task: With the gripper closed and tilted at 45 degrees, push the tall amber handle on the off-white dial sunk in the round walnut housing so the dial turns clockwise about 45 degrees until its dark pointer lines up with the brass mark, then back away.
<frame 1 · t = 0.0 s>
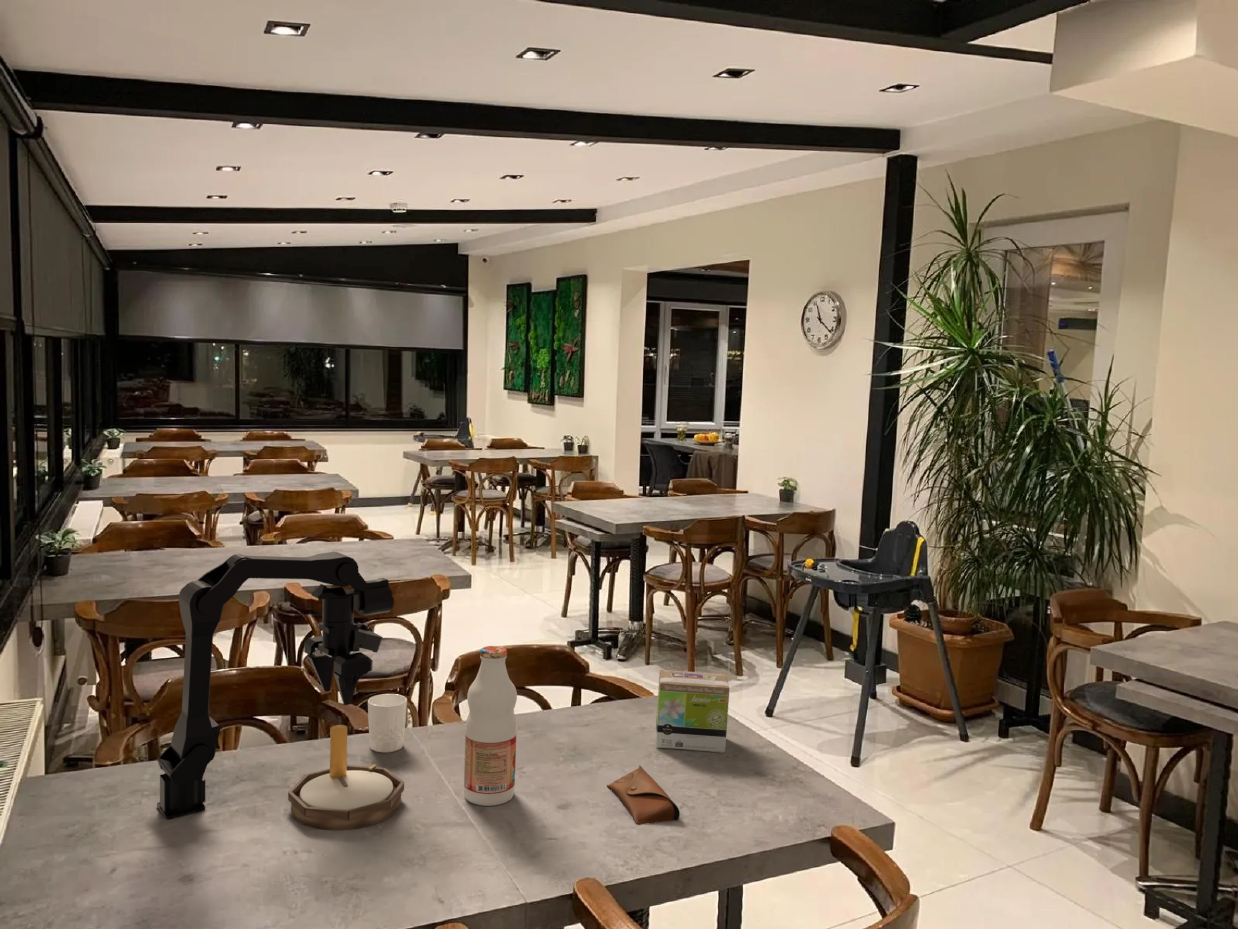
hand: (336, 697, 185), 15 cm above the table, tool pointing down, fingers open, 9 cm apart
fruit juice: (489, 797, 178), on the table
sunglasses case: (640, 805, 178), on the table
dial housing: (346, 805, 172), on the table
white cup: (386, 747, 199), on the table
dial: (347, 766, 171), point 7 cm above the table, hinge at 0.0°
tea box: (689, 744, 209), on the table
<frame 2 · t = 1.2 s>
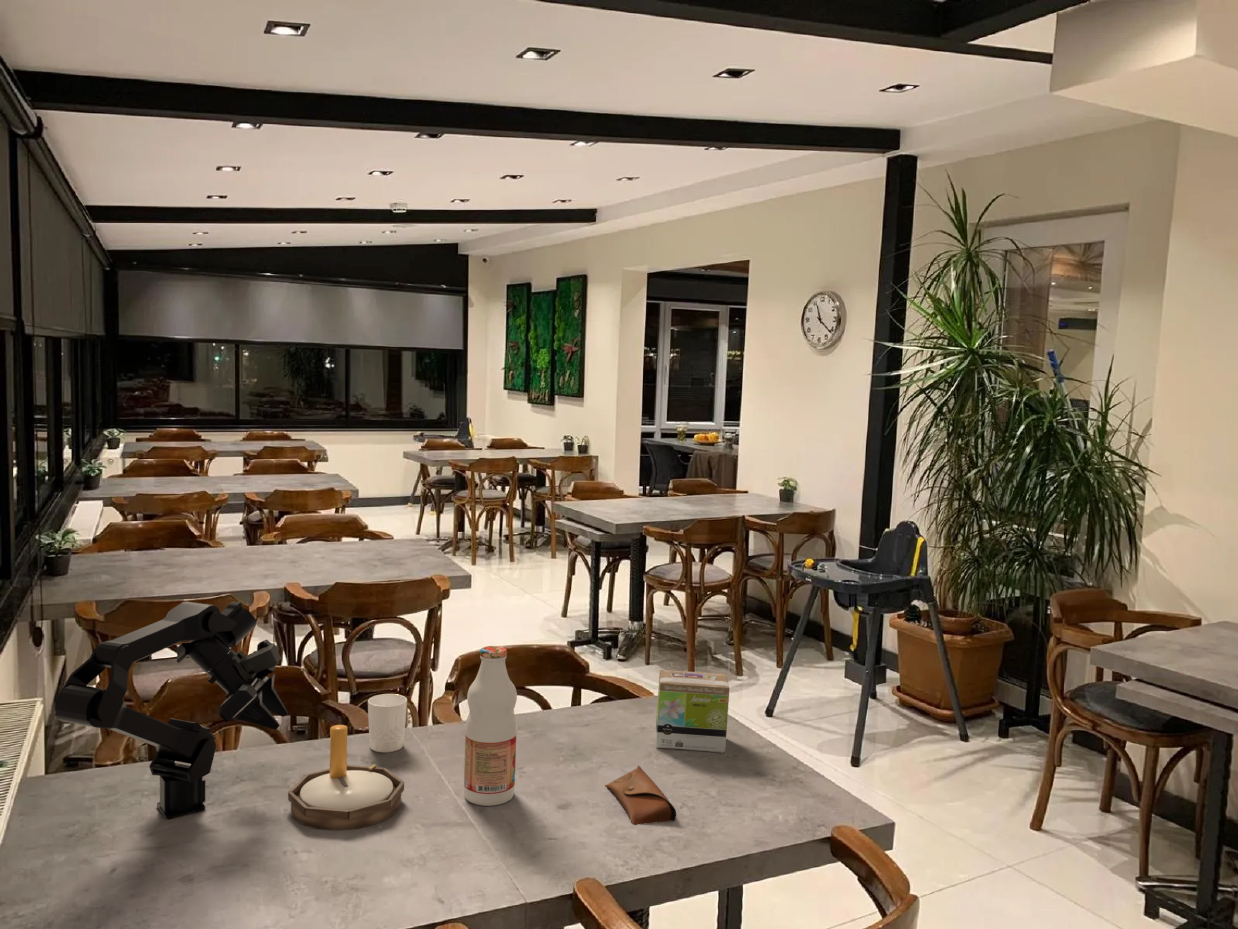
hand: (281, 721, 175), 14 cm above the table, tool tilted 45°, fingers open, 6 cm apart
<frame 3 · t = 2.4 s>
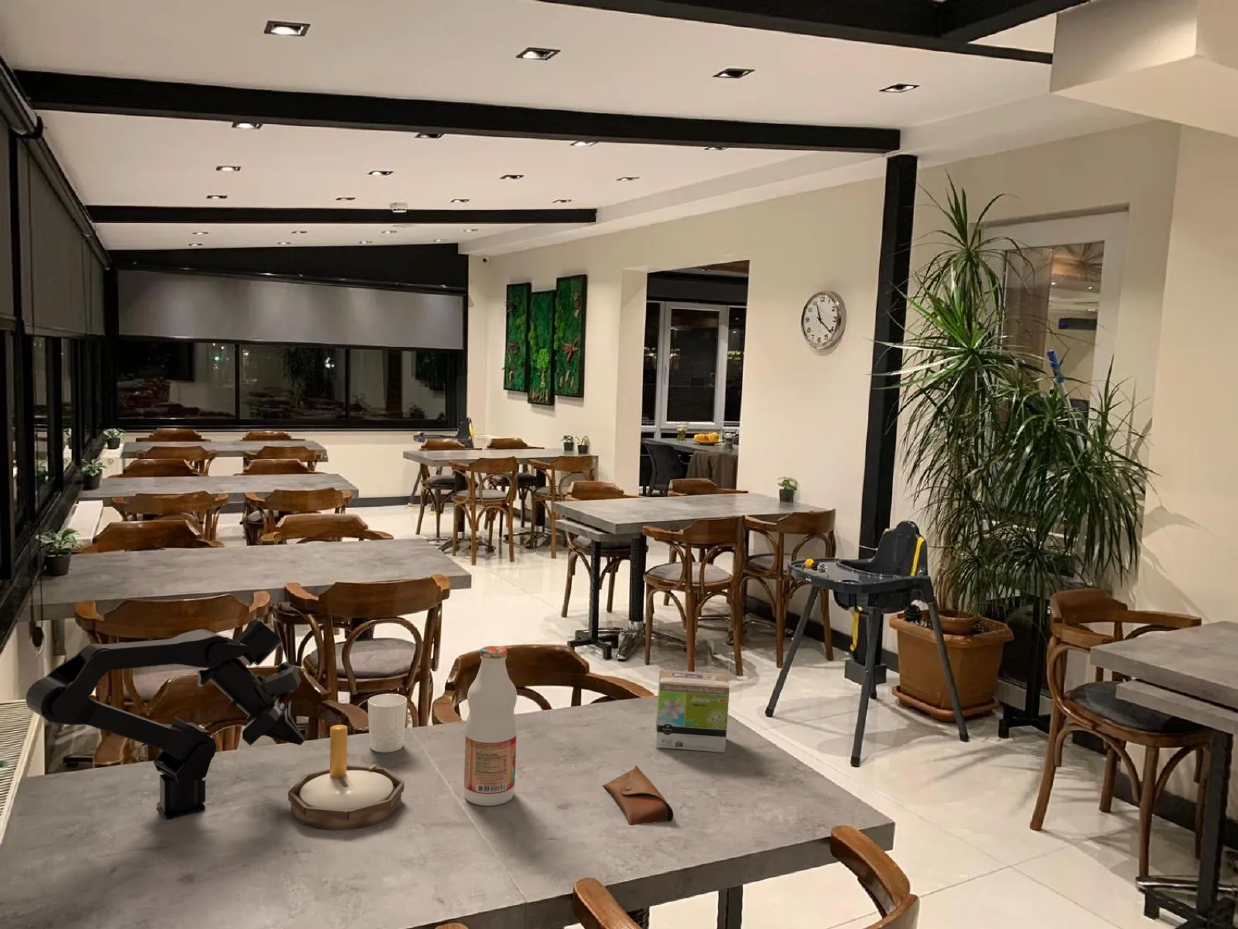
hand: (302, 742, 176), 9 cm above the table, tool tilted 45°, fingers closed
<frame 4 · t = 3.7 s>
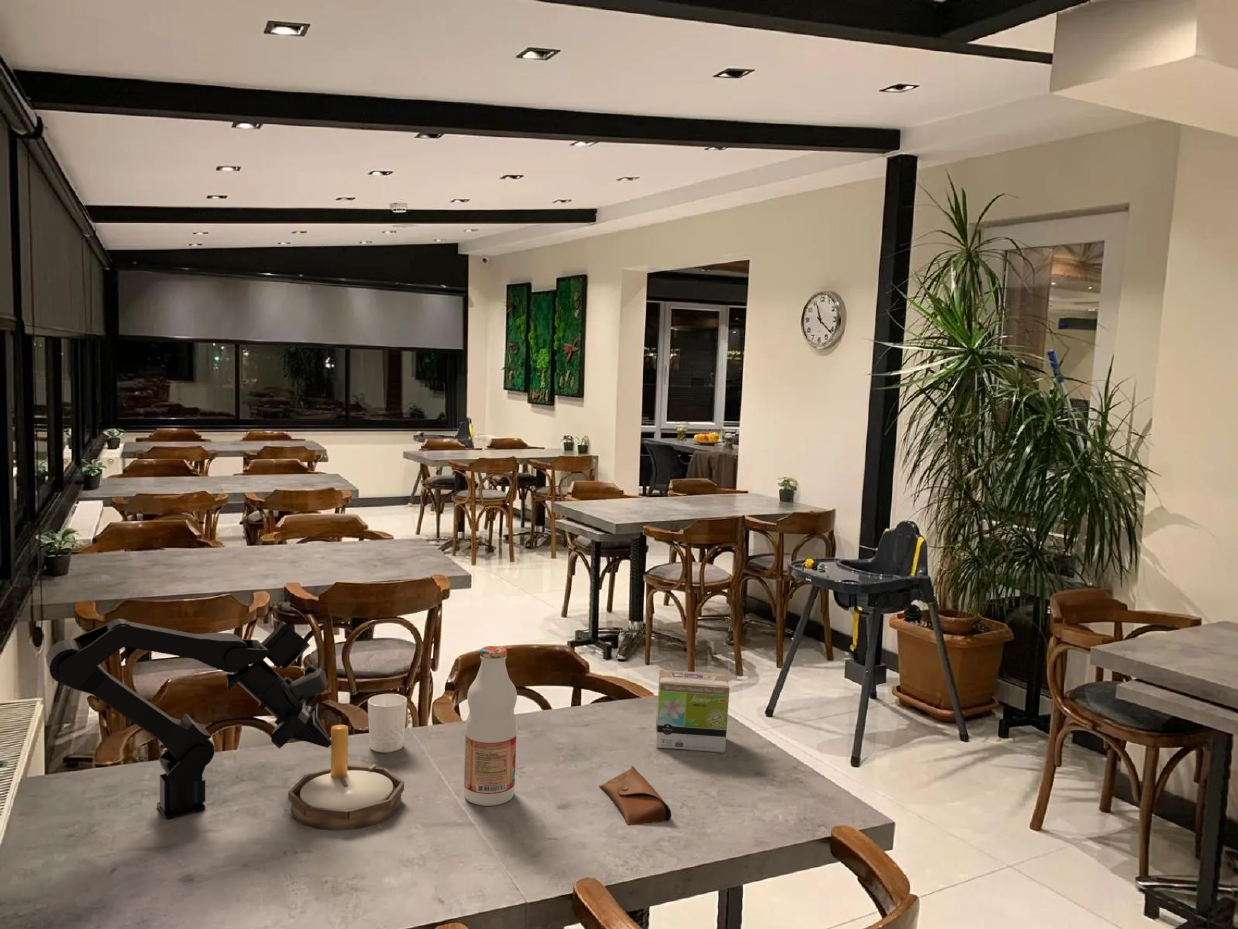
hand: (329, 745, 177), 9 cm above the table, tool tilted 45°, fingers closed, pressing on dial
dial: (347, 766, 171), point 7 cm above the table, hinge at -1.5°, touching gripper
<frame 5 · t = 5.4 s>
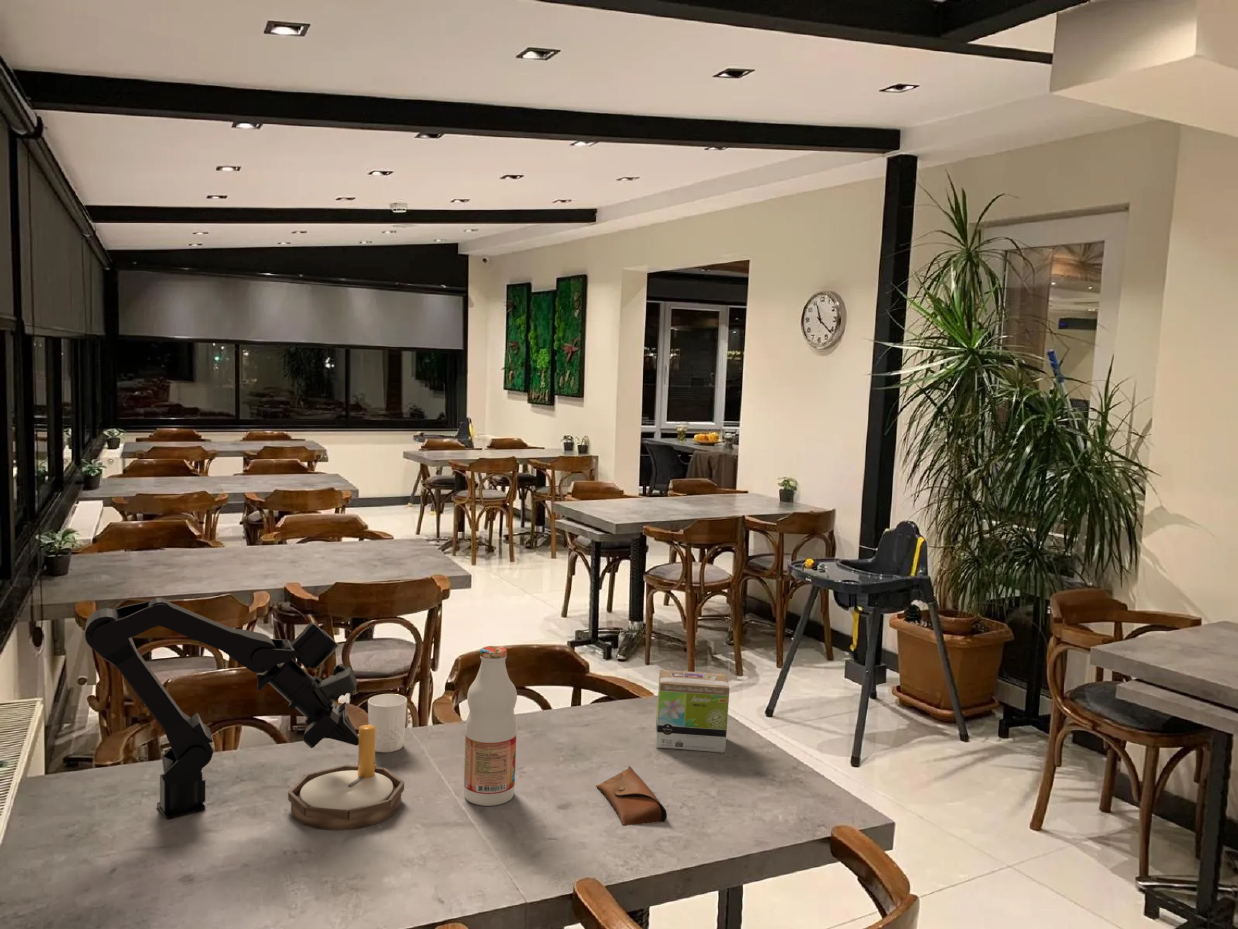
hand: (359, 743, 178), 9 cm above the table, tool tilted 45°, fingers closed, pressing on dial
dial: (347, 766, 171), point 7 cm above the table, hinge at -46.1°, touching gripper
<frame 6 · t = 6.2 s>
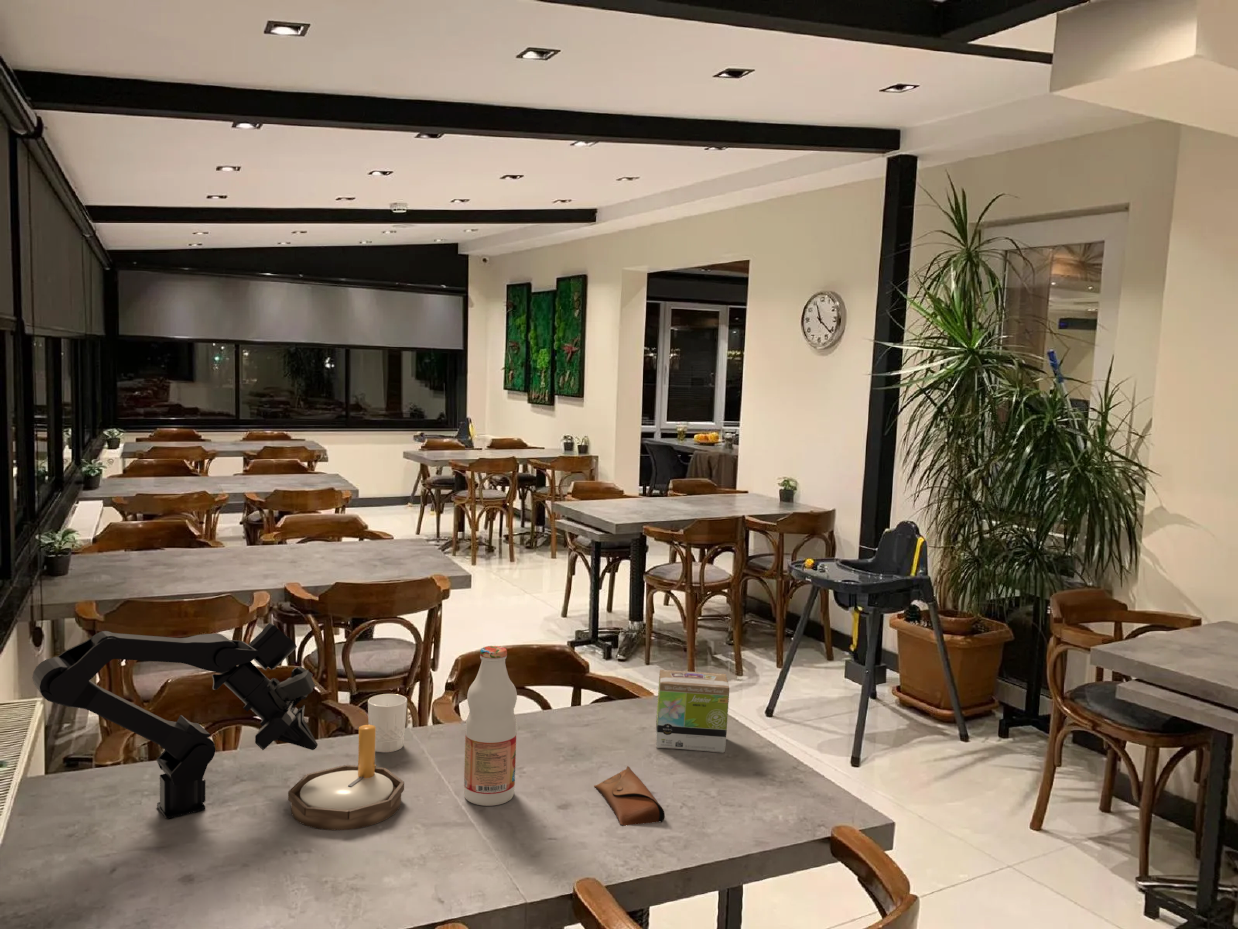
hand: (315, 747, 176), 8 cm above the table, tool tilted 45°, fingers closed
dial: (347, 766, 171), point 7 cm above the table, hinge at -46.1°
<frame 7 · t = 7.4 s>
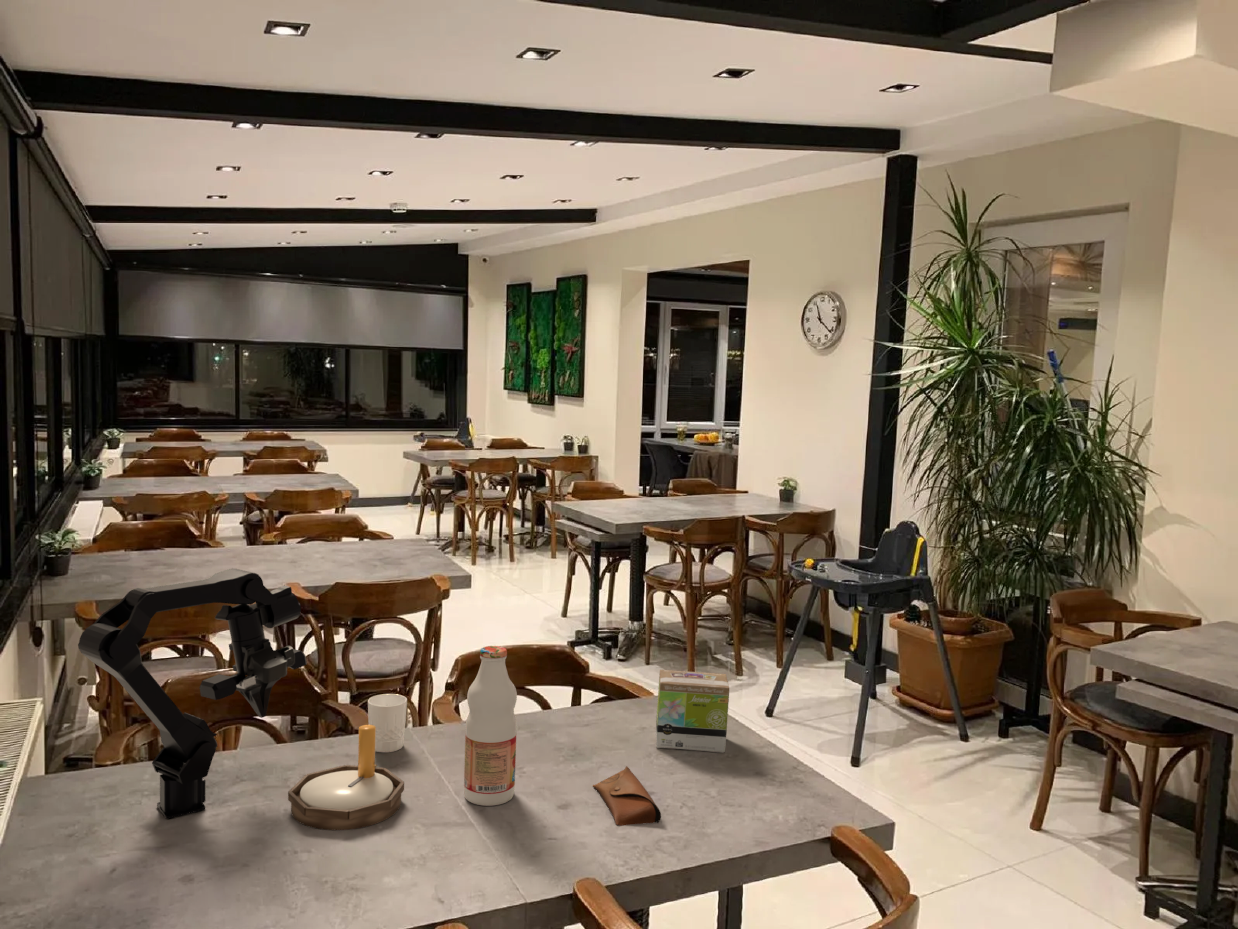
hand: (262, 716, 178), 13 cm above the table, tool pointing down, fingers closed
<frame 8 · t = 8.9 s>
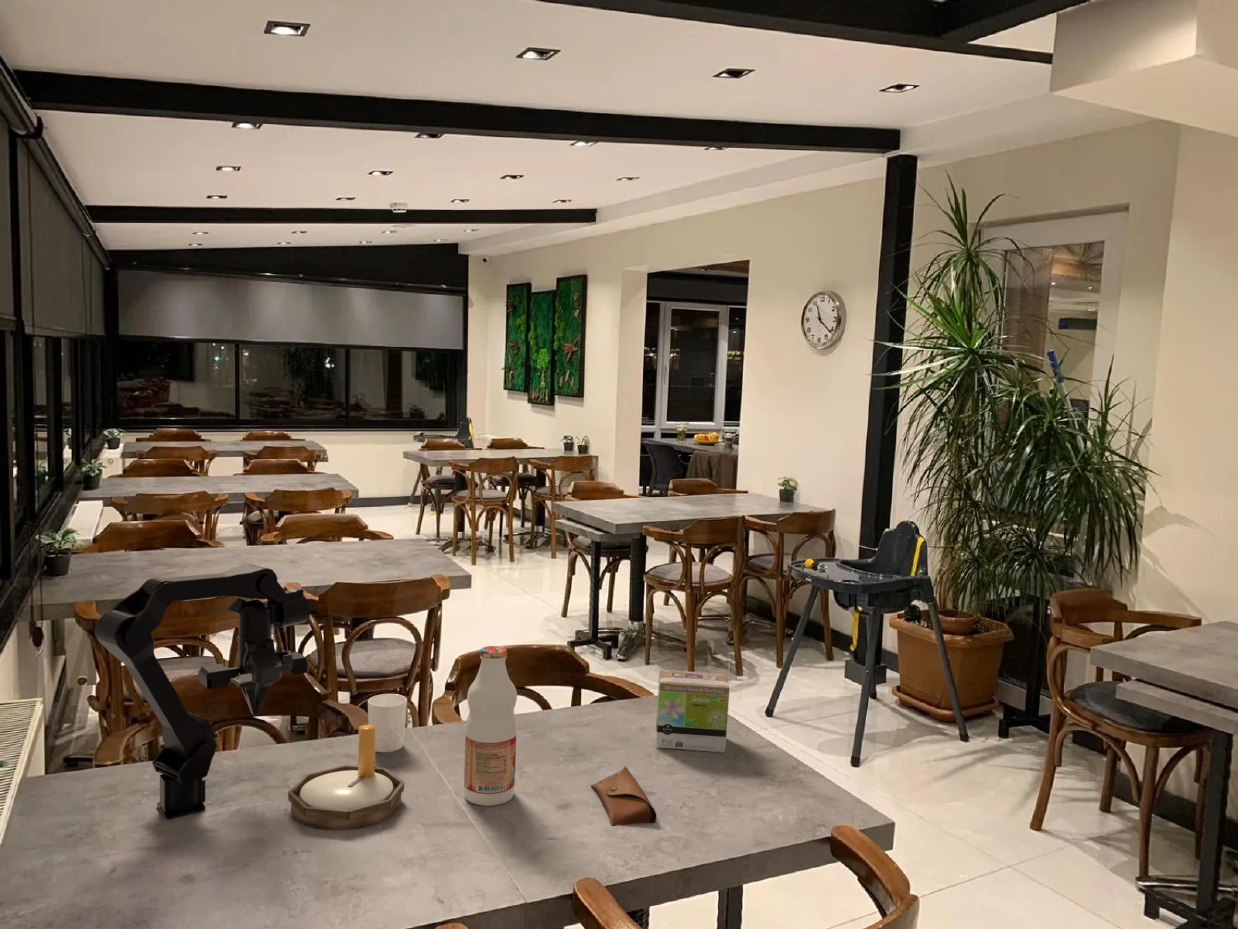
hand: (254, 714, 179), 13 cm above the table, tool pointing down, fingers closed
at the end: dial at -46° (first picture: +0°); white cup moved 0.2 cm from its start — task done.
